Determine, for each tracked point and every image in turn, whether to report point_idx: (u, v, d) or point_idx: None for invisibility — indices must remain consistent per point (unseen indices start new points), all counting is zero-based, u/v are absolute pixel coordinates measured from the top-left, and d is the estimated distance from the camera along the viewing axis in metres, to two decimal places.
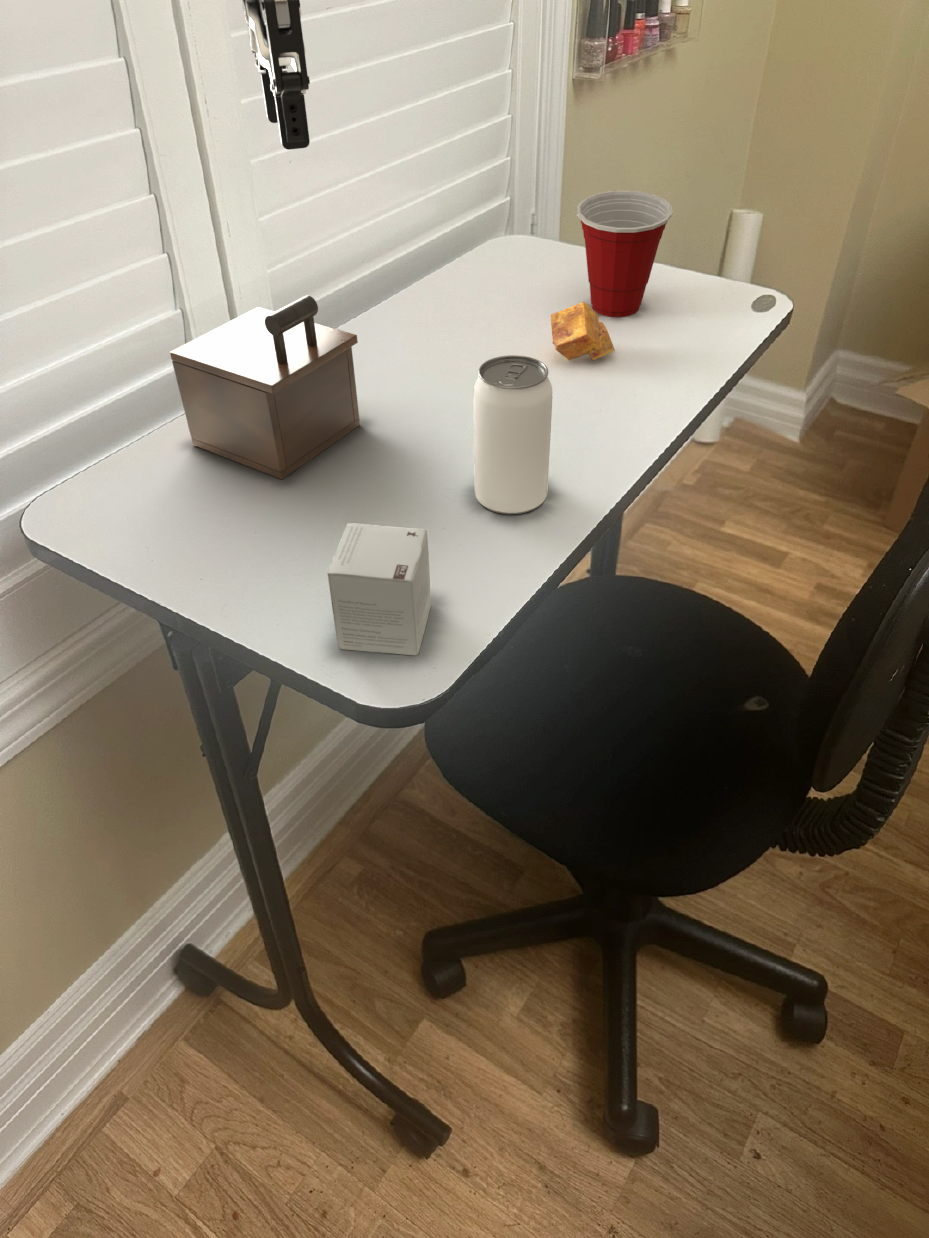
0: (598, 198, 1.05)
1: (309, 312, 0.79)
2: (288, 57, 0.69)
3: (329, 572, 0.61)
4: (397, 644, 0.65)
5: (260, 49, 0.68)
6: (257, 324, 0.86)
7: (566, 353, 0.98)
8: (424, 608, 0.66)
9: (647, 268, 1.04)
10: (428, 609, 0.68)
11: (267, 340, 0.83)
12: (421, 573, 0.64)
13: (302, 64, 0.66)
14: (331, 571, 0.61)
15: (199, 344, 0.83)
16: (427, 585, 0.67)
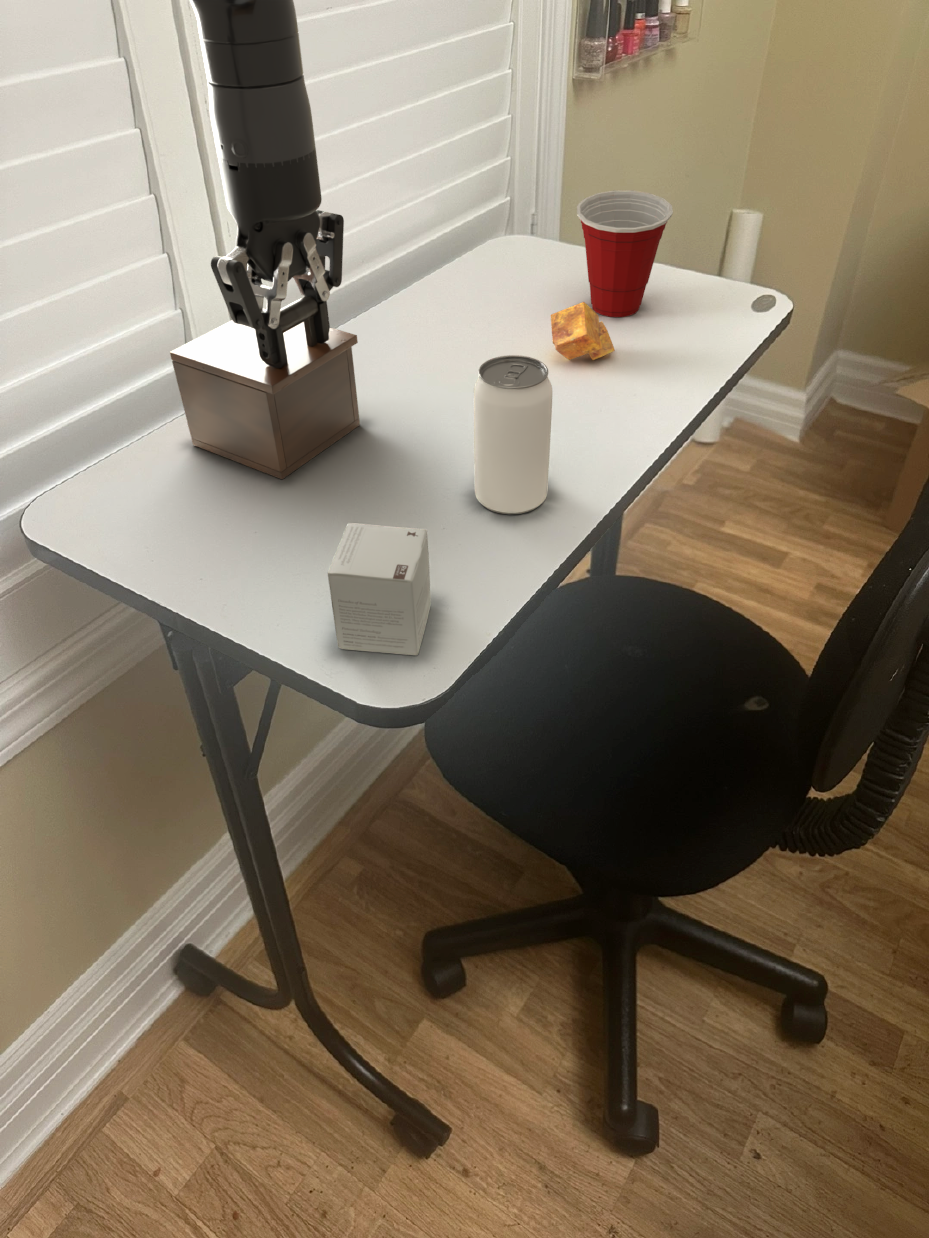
0: (598, 198, 1.05)
1: (309, 312, 0.79)
2: None
3: (329, 572, 0.61)
4: (397, 644, 0.65)
5: None
6: None
7: (566, 353, 0.98)
8: (424, 608, 0.66)
9: (647, 268, 1.04)
10: (428, 609, 0.68)
11: None
12: (421, 573, 0.64)
13: (246, 314, 0.73)
14: (331, 571, 0.61)
15: (199, 344, 0.83)
16: (427, 585, 0.67)
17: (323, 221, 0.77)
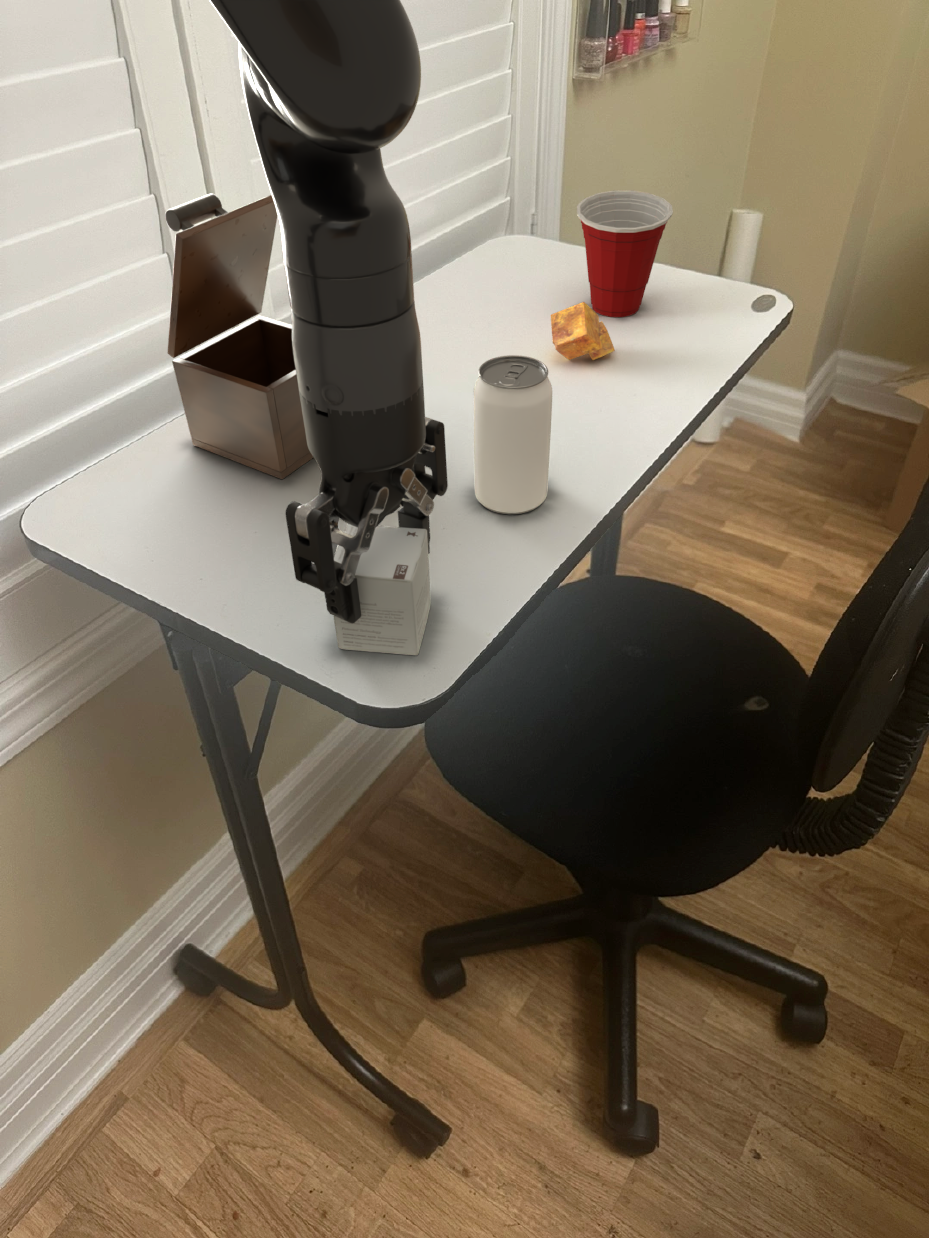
0: (598, 198, 1.05)
1: (206, 199, 0.78)
2: None
3: None
4: (397, 644, 0.65)
5: None
6: None
7: (566, 353, 0.98)
8: (424, 608, 0.66)
9: (647, 268, 1.04)
10: (428, 609, 0.68)
11: None
12: (421, 573, 0.64)
13: (319, 574, 0.56)
14: None
15: None
16: (427, 585, 0.67)
17: None
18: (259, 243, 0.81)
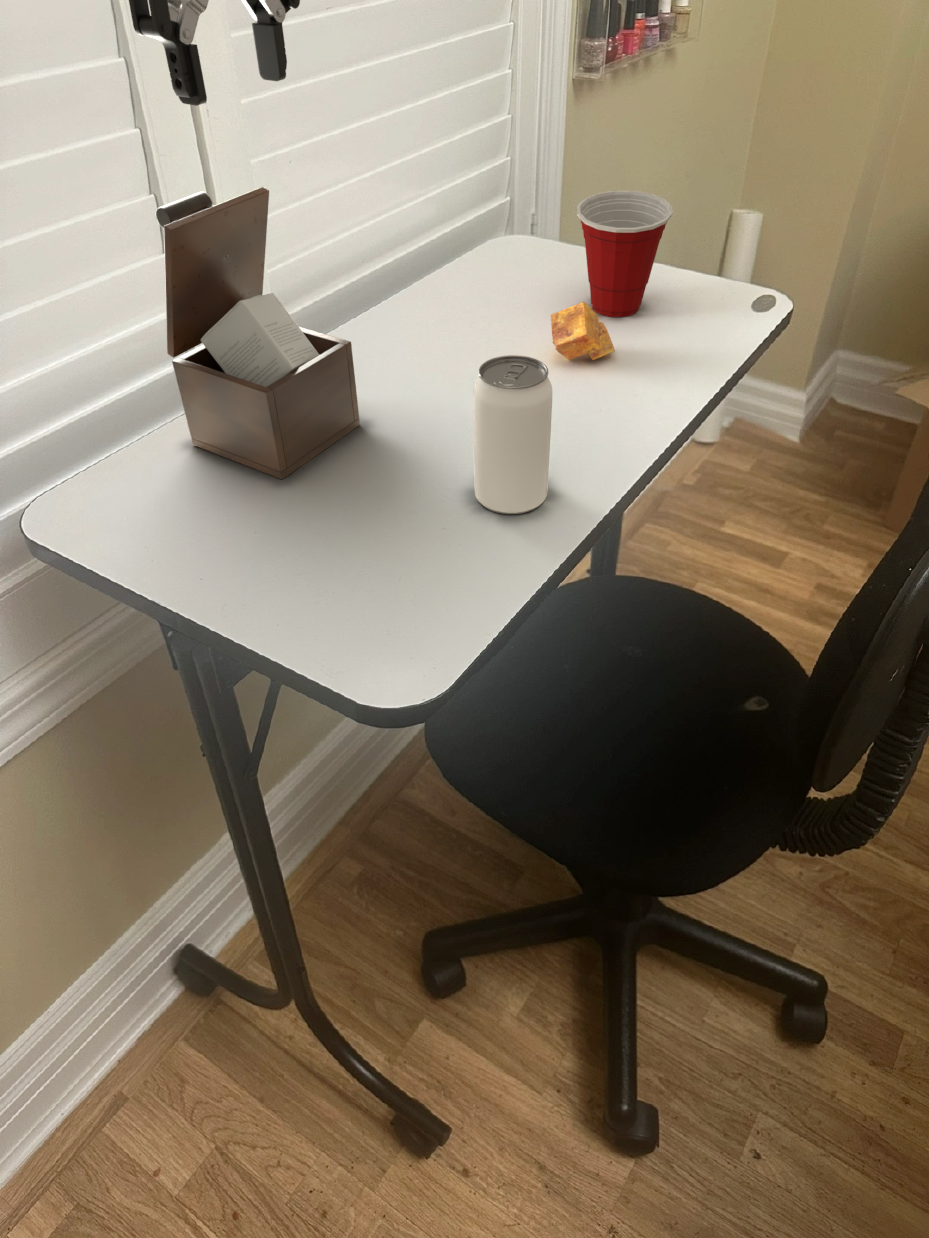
0: (598, 198, 1.05)
1: (196, 196, 0.79)
2: (180, 1, 0.62)
3: (201, 339, 0.81)
4: (274, 368, 0.80)
5: None
6: None
7: (566, 353, 0.98)
8: (292, 342, 0.82)
9: (647, 268, 1.04)
10: (309, 352, 0.83)
11: None
12: (267, 310, 0.81)
13: (152, 8, 0.59)
14: None
15: None
16: (294, 331, 0.83)
17: None
18: (251, 237, 0.81)
